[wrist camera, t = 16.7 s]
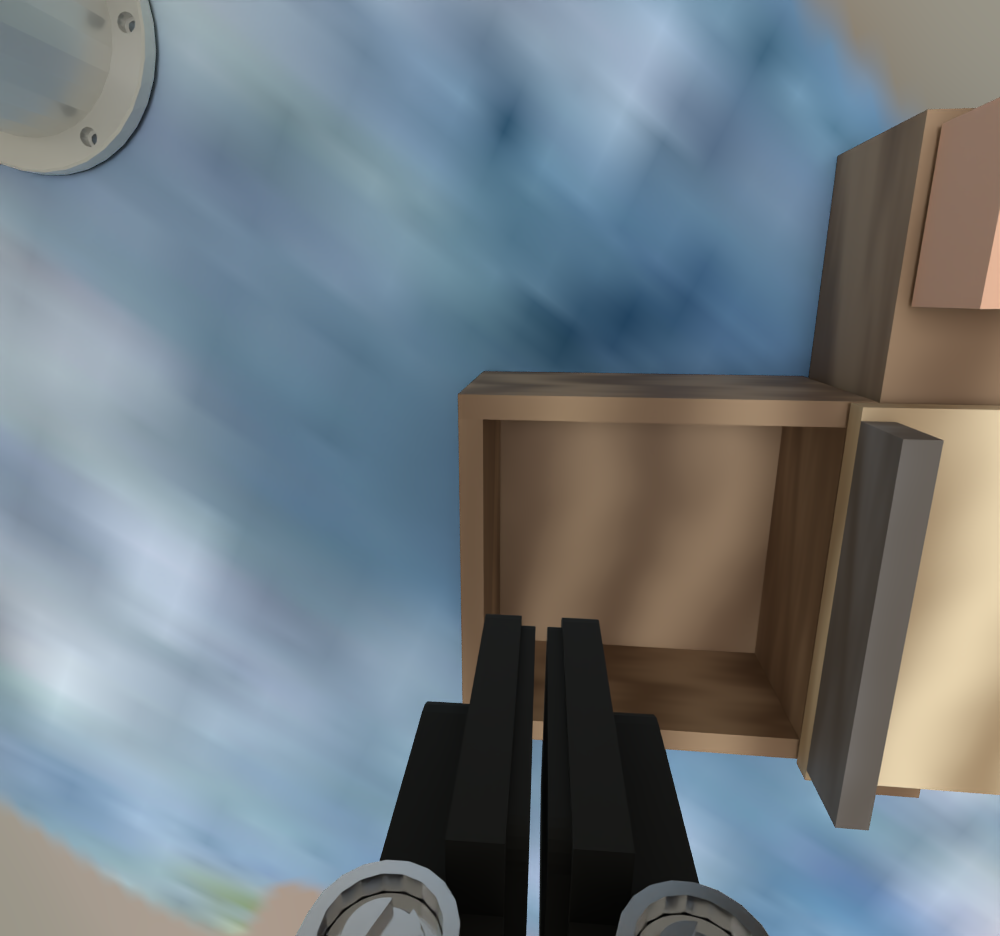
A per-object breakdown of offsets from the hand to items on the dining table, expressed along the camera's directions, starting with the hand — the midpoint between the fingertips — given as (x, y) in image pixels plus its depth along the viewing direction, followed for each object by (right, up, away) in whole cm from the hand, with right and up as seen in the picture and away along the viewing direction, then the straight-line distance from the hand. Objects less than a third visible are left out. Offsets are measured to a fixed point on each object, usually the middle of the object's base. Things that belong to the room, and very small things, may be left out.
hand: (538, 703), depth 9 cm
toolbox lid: (+20, -2, +15) cm, 26 cm away
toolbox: (+9, +4, +24) cm, 26 cm away
